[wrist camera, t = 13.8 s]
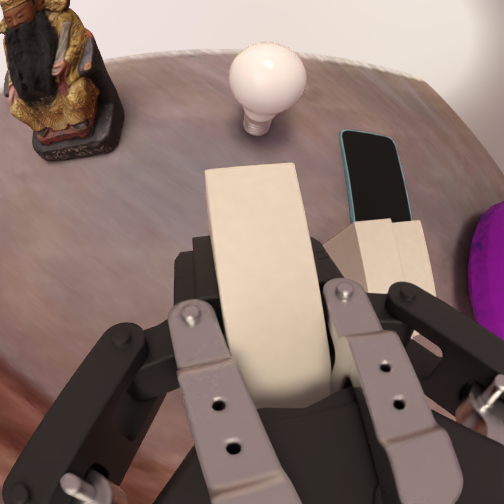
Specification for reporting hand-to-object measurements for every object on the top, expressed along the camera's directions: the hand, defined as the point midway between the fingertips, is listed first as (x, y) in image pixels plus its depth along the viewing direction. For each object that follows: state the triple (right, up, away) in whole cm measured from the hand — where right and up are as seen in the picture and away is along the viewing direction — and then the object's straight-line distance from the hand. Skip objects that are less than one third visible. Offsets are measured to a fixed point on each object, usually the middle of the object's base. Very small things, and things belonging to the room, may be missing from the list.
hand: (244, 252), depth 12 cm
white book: (0, -3, +5) cm, 6 cm away
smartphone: (+13, +6, +19) cm, 24 cm away
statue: (-17, +13, +16) cm, 27 cm away
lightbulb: (+1, +13, +18) cm, 22 cm away
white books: (+9, -4, +15) cm, 18 cm away
